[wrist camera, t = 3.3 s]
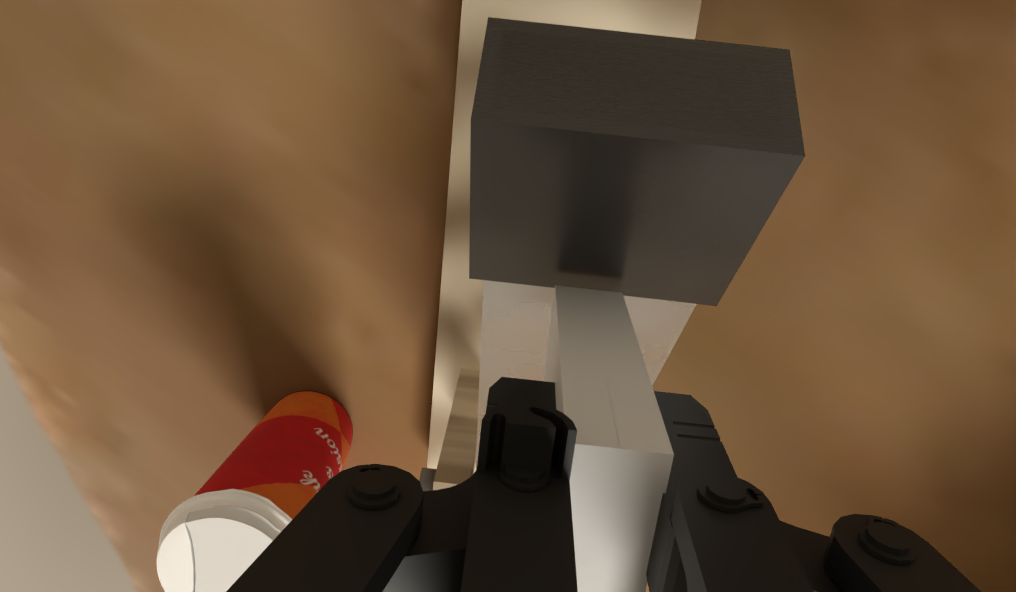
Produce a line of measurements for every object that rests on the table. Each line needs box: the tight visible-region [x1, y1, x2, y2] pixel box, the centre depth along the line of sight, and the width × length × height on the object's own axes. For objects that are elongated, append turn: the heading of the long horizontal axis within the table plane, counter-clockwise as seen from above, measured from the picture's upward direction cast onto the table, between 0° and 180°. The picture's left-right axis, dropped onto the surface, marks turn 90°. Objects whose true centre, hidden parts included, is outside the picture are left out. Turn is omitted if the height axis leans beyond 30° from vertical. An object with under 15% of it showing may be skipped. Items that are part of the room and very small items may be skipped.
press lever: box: [469, 17, 805, 469], centre depth 25 cm, size 27×6×3 cm
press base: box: [420, 0, 702, 491], centre depth 37 cm, size 32×12×14 cm, turn 174°
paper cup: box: [157, 391, 353, 592], centre depth 42 cm, size 8×8×14 cm
